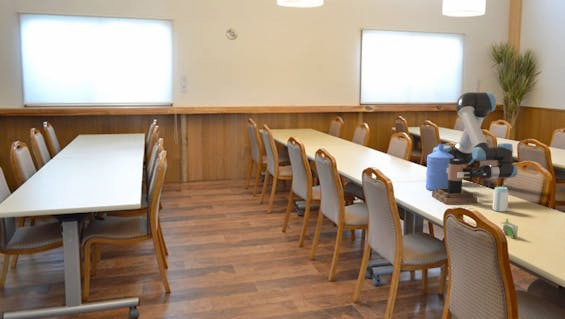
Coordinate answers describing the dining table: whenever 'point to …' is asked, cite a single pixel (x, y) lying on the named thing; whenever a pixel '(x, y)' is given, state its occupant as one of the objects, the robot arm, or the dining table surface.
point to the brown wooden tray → (454, 197)
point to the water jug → (437, 169)
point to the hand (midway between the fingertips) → (452, 172)
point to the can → (500, 199)
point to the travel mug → (455, 176)
